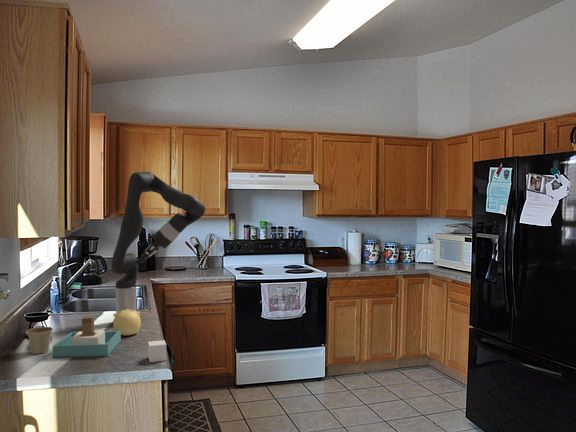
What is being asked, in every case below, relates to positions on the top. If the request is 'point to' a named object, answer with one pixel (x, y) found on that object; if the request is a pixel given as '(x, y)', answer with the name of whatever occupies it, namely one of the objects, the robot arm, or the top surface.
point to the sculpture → (127, 322)
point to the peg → (88, 326)
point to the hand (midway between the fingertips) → (139, 262)
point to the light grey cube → (157, 351)
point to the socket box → (87, 344)
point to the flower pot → (39, 339)
